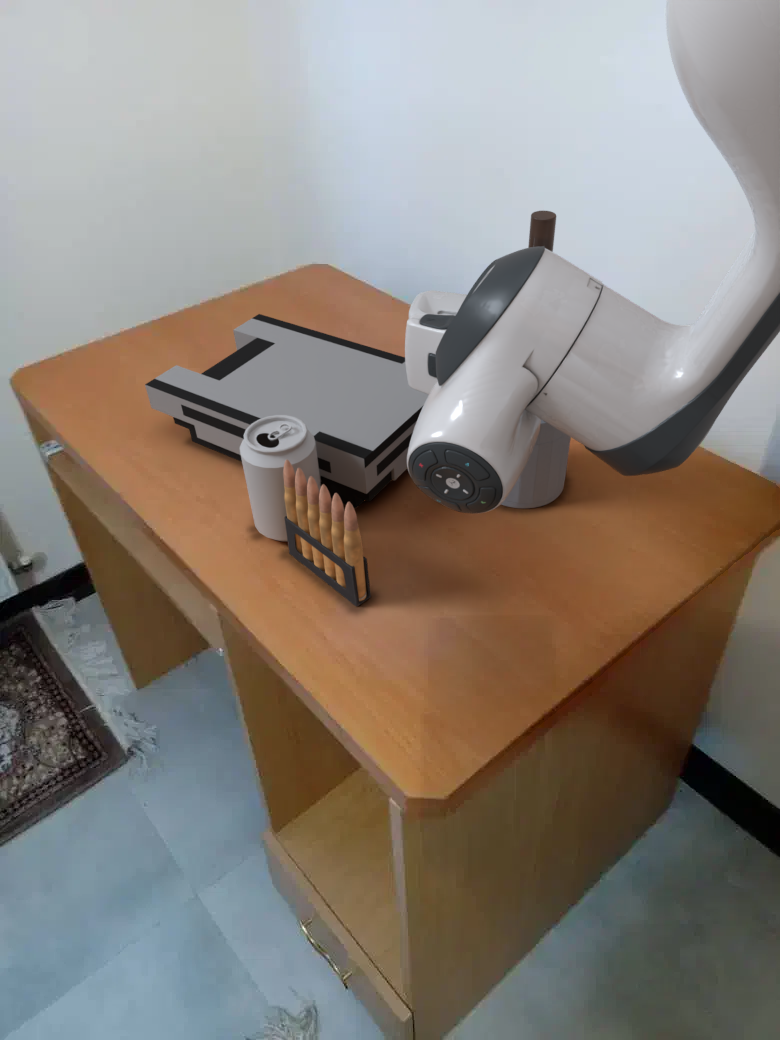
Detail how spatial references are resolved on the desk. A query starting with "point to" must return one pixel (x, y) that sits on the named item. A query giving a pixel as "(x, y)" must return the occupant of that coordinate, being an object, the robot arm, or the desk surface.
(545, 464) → the hollow cylinder
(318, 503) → the ammunition clip
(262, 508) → the can
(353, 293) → the desk surface
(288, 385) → the game console
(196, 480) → the desk surface
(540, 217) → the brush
